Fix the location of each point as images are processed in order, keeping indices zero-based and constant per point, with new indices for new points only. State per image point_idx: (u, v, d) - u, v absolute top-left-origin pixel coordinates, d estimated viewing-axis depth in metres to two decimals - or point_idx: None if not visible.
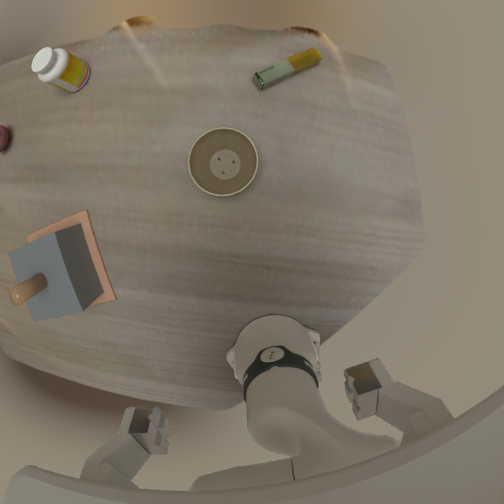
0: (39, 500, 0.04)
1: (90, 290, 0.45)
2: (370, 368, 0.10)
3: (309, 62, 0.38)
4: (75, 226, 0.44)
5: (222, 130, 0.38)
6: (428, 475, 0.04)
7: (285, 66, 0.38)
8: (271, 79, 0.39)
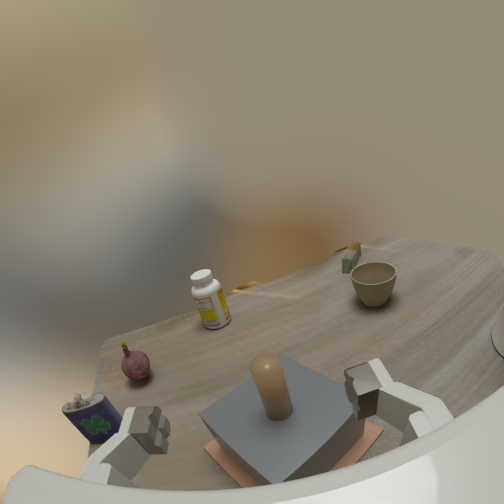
0: (39, 500, 0.04)
1: None
2: (370, 368, 0.10)
3: (357, 246, 0.77)
4: None
5: (358, 269, 0.59)
6: (428, 475, 0.04)
7: (351, 252, 0.74)
8: (352, 257, 0.71)
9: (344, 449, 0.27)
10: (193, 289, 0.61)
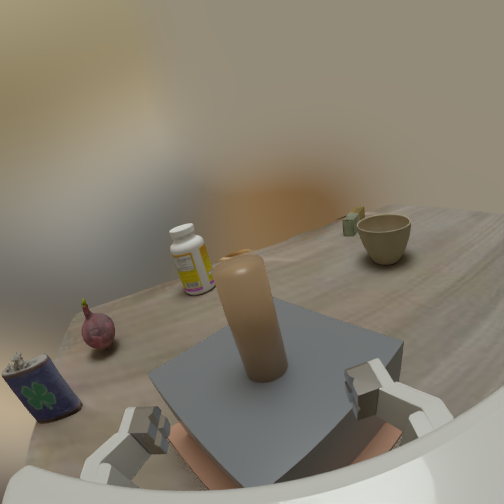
0: (39, 500, 0.04)
1: None
2: (370, 368, 0.10)
3: (361, 209, 0.68)
4: None
5: (365, 223, 0.50)
6: (428, 475, 0.04)
7: (353, 214, 0.65)
8: (353, 218, 0.62)
9: (369, 434, 0.17)
10: (172, 245, 0.52)
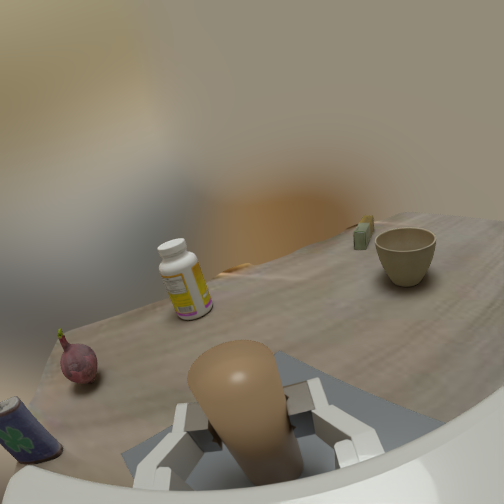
0: (39, 500, 0.04)
1: None
2: (307, 388, 0.10)
3: (370, 218, 0.61)
4: None
5: (383, 237, 0.43)
6: (428, 475, 0.04)
7: (363, 224, 0.58)
8: (365, 229, 0.55)
9: None
10: (161, 264, 0.45)
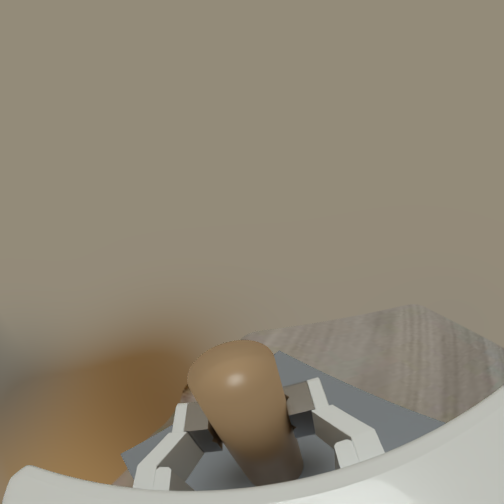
0: (39, 500, 0.04)
1: None
2: (307, 388, 0.10)
3: None
4: None
5: None
6: (428, 475, 0.04)
7: None
8: None
9: None
10: None
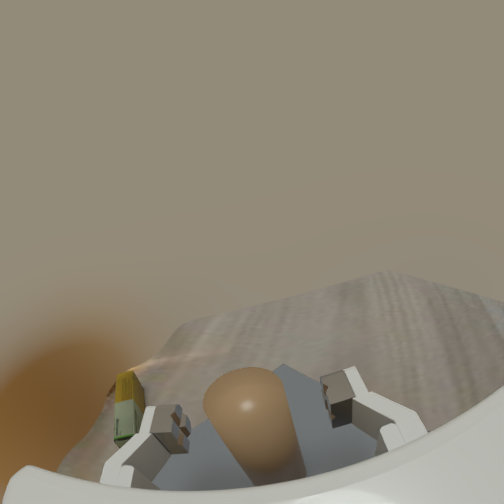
0: (39, 500, 0.04)
1: None
2: (345, 376, 0.10)
3: (131, 382, 0.30)
4: None
5: None
6: (428, 475, 0.04)
7: (123, 407, 0.26)
8: (132, 425, 0.23)
9: None
10: None
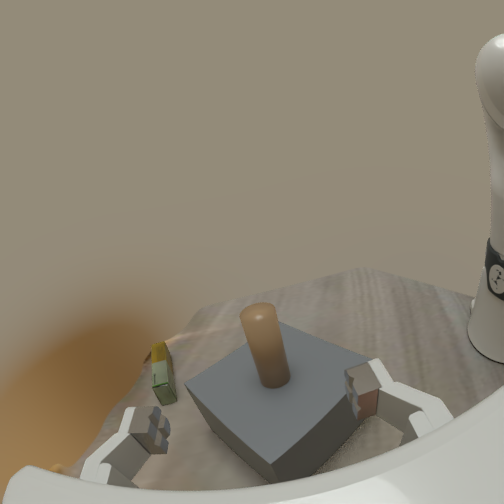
0: (39, 500, 0.04)
1: None
2: (370, 368, 0.10)
3: (164, 349, 0.44)
4: None
5: None
6: (428, 475, 0.04)
7: (159, 365, 0.39)
8: (166, 377, 0.37)
9: (350, 427, 0.24)
10: None
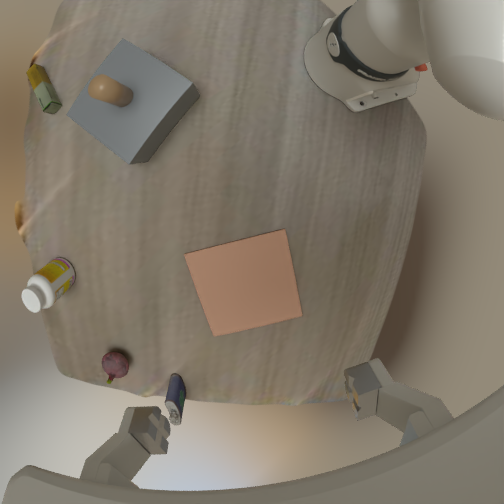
0: (39, 500, 0.04)
1: None
2: (370, 368, 0.10)
3: (37, 71, 0.32)
4: None
5: None
6: (428, 475, 0.04)
7: (39, 89, 0.33)
8: (48, 96, 0.34)
9: (181, 113, 0.40)
10: (42, 307, 0.40)
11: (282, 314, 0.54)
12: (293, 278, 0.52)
